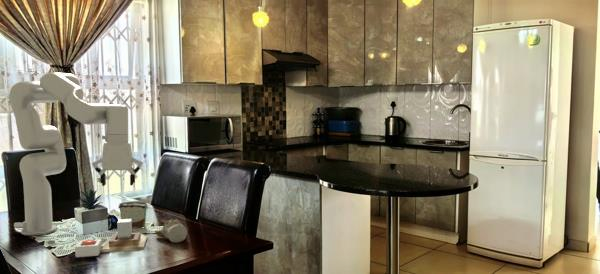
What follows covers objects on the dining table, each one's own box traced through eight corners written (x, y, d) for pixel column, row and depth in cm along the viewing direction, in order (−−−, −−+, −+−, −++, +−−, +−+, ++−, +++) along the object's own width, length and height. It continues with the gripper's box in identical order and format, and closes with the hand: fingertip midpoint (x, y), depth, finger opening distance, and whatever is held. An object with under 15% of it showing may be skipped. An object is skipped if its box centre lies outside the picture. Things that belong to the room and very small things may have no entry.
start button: (81, 249, 158) (80, 243, 158) (83, 245, 162) (83, 240, 162) (93, 248, 159) (93, 242, 159) (96, 245, 163) (95, 239, 163)
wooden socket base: (101, 252, 162) (101, 243, 162) (108, 240, 176) (107, 232, 175) (143, 249, 165) (143, 240, 165) (147, 238, 179) (147, 230, 179)
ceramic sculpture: (165, 222, 168) (152, 216, 180) (166, 246, 168) (153, 238, 181) (193, 218, 174) (179, 213, 186) (194, 241, 174) (180, 234, 187)
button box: (75, 257, 157) (75, 246, 157) (80, 250, 164) (79, 241, 163) (97, 255, 158) (97, 245, 158) (101, 249, 165) (101, 239, 165)
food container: (153, 224, 199) (152, 201, 198) (147, 228, 193) (146, 204, 192) (125, 223, 200) (125, 200, 200) (118, 227, 194) (118, 203, 194)
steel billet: (117, 244, 168) (117, 222, 167) (119, 240, 172) (118, 219, 171) (130, 243, 169) (130, 221, 168) (132, 240, 173) (131, 218, 172)
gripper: (89, 139, 165) (90, 187, 166) (141, 139, 169) (141, 186, 170) (94, 137, 172) (94, 183, 174) (143, 137, 176) (143, 182, 178)
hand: (117, 185), depth 172 cm, fingers open, 9 cm apart
